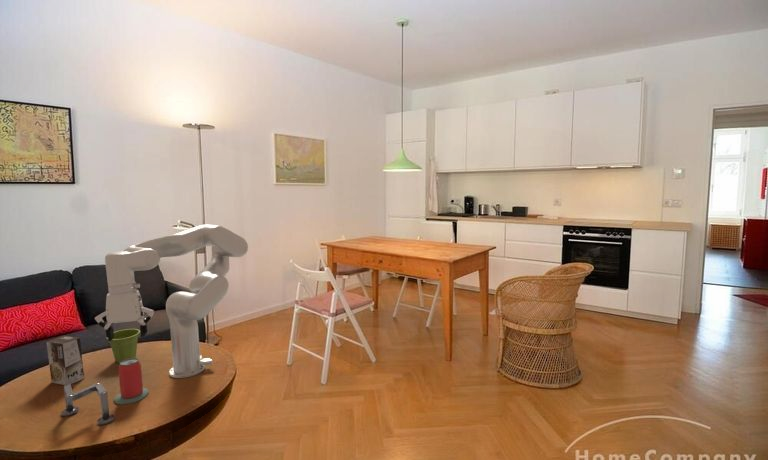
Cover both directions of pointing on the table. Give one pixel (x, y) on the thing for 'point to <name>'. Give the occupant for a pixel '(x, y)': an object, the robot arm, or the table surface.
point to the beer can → (130, 378)
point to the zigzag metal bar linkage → (72, 396)
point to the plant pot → (124, 344)
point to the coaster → (120, 400)
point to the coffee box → (65, 360)
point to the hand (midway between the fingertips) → (127, 337)
